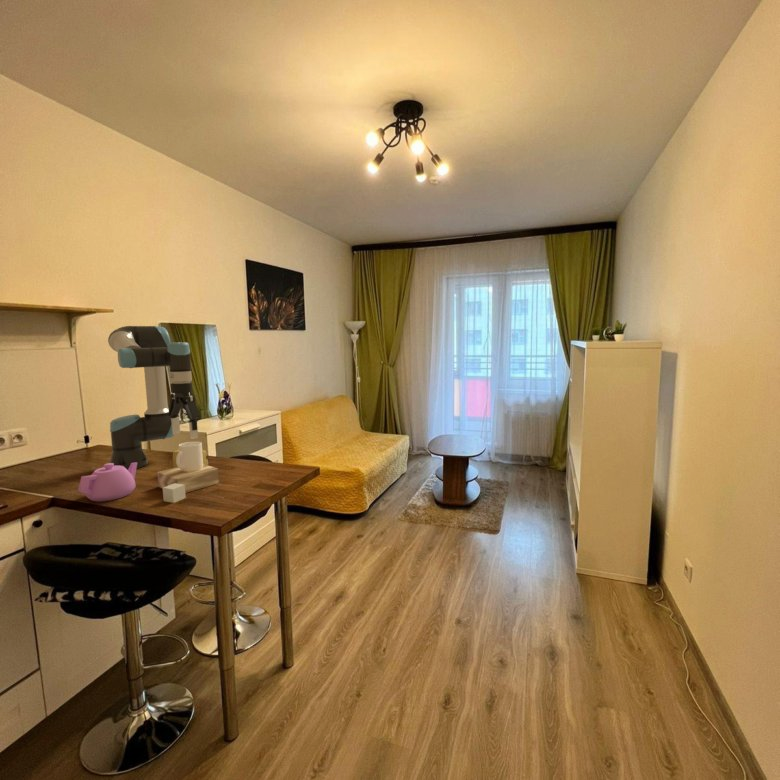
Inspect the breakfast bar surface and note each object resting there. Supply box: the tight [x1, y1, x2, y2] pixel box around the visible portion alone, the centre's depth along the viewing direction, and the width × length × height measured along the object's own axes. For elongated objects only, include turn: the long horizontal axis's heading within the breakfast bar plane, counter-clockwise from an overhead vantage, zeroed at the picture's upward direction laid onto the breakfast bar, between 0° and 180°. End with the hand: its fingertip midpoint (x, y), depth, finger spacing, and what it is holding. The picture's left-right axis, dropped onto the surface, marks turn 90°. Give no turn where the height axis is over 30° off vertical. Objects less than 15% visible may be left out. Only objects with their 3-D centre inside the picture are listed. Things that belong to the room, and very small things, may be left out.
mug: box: [176, 441, 203, 472], centre depth 161 cm, size 12×8×10 cm
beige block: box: [162, 483, 187, 504], centre depth 147 cm, size 5×5×5 cm
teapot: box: [77, 462, 138, 502], centre depth 153 cm, size 22×16×12 cm
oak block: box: [156, 464, 220, 494], centre depth 163 cm, size 16×16×6 cm
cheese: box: [172, 448, 209, 468], centre depth 182 cm, size 10×11×10 cm
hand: (185, 436), depth 161 cm, fingers open, 13 cm apart
